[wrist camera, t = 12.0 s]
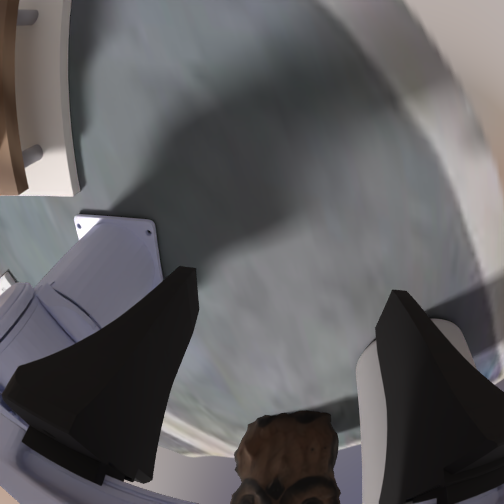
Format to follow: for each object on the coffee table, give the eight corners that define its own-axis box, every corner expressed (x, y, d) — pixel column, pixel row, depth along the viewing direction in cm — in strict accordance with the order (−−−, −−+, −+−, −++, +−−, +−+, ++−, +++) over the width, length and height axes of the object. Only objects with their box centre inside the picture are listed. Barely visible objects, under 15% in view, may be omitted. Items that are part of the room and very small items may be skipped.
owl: (237, 424, 40) (215, 539, 24) (276, 395, 33) (257, 548, 17) (305, 441, 42) (296, 545, 25) (354, 415, 35) (354, 545, 19)
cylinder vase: (335, 349, 27) (328, 606, 7) (451, 293, 22) (517, 566, 1) (377, 396, 32) (381, 578, 11) (466, 356, 26) (503, 544, 6)
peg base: (80, 191, 21) (51, 213, 18) (3, 191, 22) (-22, 209, 19) (77, -36, 10) (44, -44, 7) (-8, 13, 11) (-38, 17, 8)
